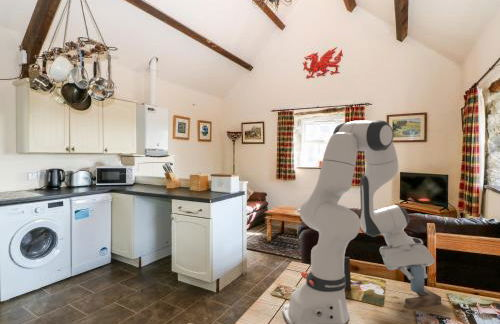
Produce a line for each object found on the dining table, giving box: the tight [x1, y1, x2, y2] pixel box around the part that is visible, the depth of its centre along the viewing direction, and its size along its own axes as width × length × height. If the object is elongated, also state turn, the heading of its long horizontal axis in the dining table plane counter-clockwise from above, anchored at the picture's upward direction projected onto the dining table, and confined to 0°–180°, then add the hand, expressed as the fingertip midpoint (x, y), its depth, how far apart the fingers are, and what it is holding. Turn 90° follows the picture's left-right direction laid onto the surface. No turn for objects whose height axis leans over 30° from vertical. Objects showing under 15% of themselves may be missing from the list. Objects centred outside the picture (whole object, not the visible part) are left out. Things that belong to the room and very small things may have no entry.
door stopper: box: [344, 255, 352, 291], centre depth 115 cm, size 9×6×12 cm, turn 167°
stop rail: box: [404, 286, 442, 309], centre depth 102 cm, size 14×8×2 cm, turn 101°
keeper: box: [410, 265, 425, 294], centre depth 103 cm, size 4×4×9 cm
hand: (418, 278), depth 103 cm, fingers closed on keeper, 4 cm apart
